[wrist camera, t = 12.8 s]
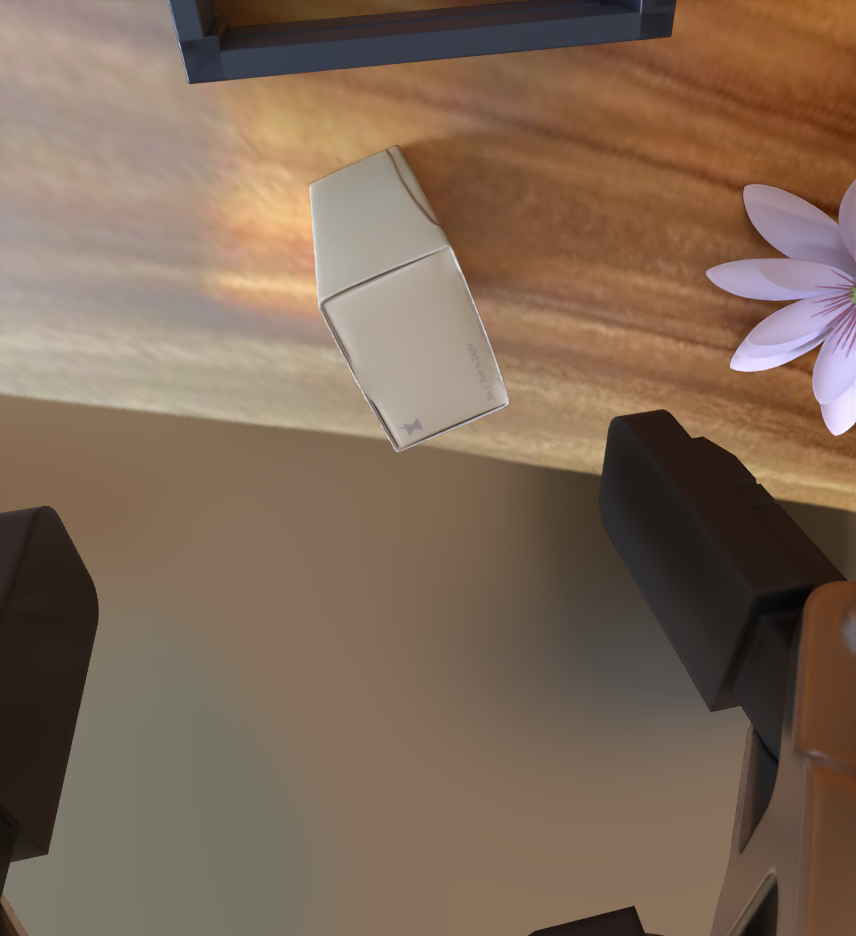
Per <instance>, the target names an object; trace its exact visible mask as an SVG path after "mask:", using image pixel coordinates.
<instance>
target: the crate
mask: <svg viewBox="0 0 856 936" xmlns="http://www.w3.org/2000/svg"><path fill="white" fill-rule="evenodd" d="M168 2H169V6H170V10H171V14H172V18H173V22H174V26H175V30H176V35H177V39H178V43H179V47H180V51H181V55H182V59H183V63H184V67H185V72H186V76H187V80H188V83H189V84H196V83H206V82H217V81H226V80H236V79H246V78H256V77H266V76H277V75H287V74H297V73H307V72H317V71H328V70H338V69H348V68H358V67H368V66H379V65H389V64H399V63H409V62H420V61H430V60H440V59H450V58H460V57H471V56H481V55H491V54H501V53H511V52H522V51H532V50H542V49H552V48H562V47H573V46H583V45H593V44H603V43H614V42H624V41H634V40H646V39H656V38H666V37H671V35H672V28H673V21H674V13H675V6H676V0H532V1H521V2H510V3H499V4H488V5H477V6H466V7H454V8H443V9H432V10H421V11H410V12H399V13H388V14H377V15H366V16H355V17H344V18H332V19H321V20H310V21H299V22H288V23H277V24H266V25H255V26H244V27H233V28H230V24H229V19H228V16H227V15H218V16H216V12H215V7H214V2H213V0H168Z"/></svg>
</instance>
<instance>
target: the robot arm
mask: <svg viewBox="0 0 856 936" xmlns="http://www.w3.org/2000/svg"><path fill="white" fill-rule="evenodd" d="M599 506H600V513H601V517H602V521H603V525H604V527H605V530H606V532H607V534H608V536H609V538H610V539H611V541H612V543H613V544H614V546H615V548H616V550H617V551H618V553H619V555H620V556H621V558H622V560H623V562H624V563H625V565H626V567H627V568H628V570H629V572H630V574H631V575H632V577H633V579H634V581H635V582H636V584H637V586H638V588H639V589H640V591H641V593H642V594H643V596H644V598H645V599H646V601H647V603H648V605H649V607H650V608H651V610H652V612H653V613H654V615H655V617H656V619H657V620H658V622H659V624H660V625H661V627H662V629H663V631H664V632H665V634H666V636H667V638H668V639H669V641H670V643H671V645H672V646H673V648H674V650H675V651H676V653H677V655H678V656H679V658H680V660H681V662H682V664H683V665H684V667H685V669H686V670H687V672H688V674H689V676H690V677H691V679H692V681H693V683H694V684H695V686H696V687H697V689H698V691H699V692H700V694H701V696H702V698H703V700H704V701H705V703H706V705H707V707H708V708H709V710H710V712H713V711H719V710H723V709H727V708H732V707H737V706H741V707H742V708H743V710H744V711H745V713H746V715H747V716H748V718H749V720H750V721H751V724H750V726H749V728H748V731H747V736H746V741H745V748H744V755H743V762H742V770H741V777H740V783H739V791H738V798H737V805H736V813H735V819H734V826H733V833H732V840H731V847H730V855H729V860H728V865H727V870H726V875H725V878H724V882H723V885H722V889H721V892H720V895H719V898H718V902H717V906H716V910H715V914H714V918H713V923H712V928H711V933H710V936H856V581H848V580H847V579H846V578H845V577H844V576H843V575H842V574H841V573H840V572H839V570H838V569H837V568H836V567H835V566H834V565H833V564H832V563H831V562H830V560H828V558H827V557H826V556H825V555H824V554H823V553H822V552H821V550H820V549H819V548H818V547H817V546H816V545H815V544H814V543H813V542H812V540H810V538H809V537H808V536H807V535H806V534H805V533H804V532H803V531H802V529H801V528H800V527H799V526H798V525H797V524H796V523H795V522H794V521H793V520H792V518H791V517H790V516H789V515H788V514H787V513H786V512H785V511H784V510H783V508H782V507H781V506H780V505H779V504H775V503H774V498H773V497H772V496H771V495H770V494H769V493H768V492H767V491H766V489H765V488H764V487H763V486H762V485H761V484H757V483H756V478H755V477H754V476H753V475H752V474H751V473H750V472H749V471H748V469H747V468H746V467H745V466H744V465H743V464H742V463H741V462H740V461H739V459H738V458H737V457H736V456H735V455H733V454H732V453H730V452H728V451H727V450H725V449H723V448H722V447H720V446H718V445H716V444H715V443H713V442H711V441H710V440H708V439H706V438H705V437H698V438H691V437H690V435H689V434H688V433H687V432H686V431H685V430H684V428H683V427H682V426H681V425H680V424H679V423H678V421H677V420H676V419H675V418H674V417H673V415H672V414H671V413H670V412H668V411H667V410H655V411H649V412H643V413H636V414H630V415H624V416H618V417H615V418H613V419H612V421H611V423H610V426H609V430H608V436H607V443H606V450H605V457H604V464H603V471H602V478H601V485H600V492H599ZM98 617H99V610H98V598H97V593H96V589H95V586H94V583H93V581H92V578H91V577H90V575H89V573H88V571H87V569H86V567H85V565H84V563H83V561H82V559H81V557H80V555H79V554H78V552H77V550H76V548H75V546H74V544H73V542H72V540H71V538H70V536H69V535H68V533H67V531H66V529H65V527H64V525H63V523H62V521H61V519H60V517H59V516H58V514H57V513H56V511H55V510H54V509H53V508H51V507H49V506H42V507H36V508H29V509H23V510H17V511H10V512H4V513H0V936H28V934H27V932H26V930H25V929H24V927H23V925H22V924H21V922H20V920H19V918H18V917H17V915H16V913H15V912H14V910H13V908H12V907H11V905H10V903H9V902H8V900H7V899H6V898H5V897H4V895H3V894H2V892H3V888H4V884H5V880H6V876H7V872H8V868H9V865H10V862H15V861H19V860H23V859H28V858H33V857H38V856H42V855H47V854H48V851H49V846H50V841H51V837H52V833H53V828H54V823H55V819H56V814H57V809H58V804H59V800H60V796H61V791H62V786H63V782H64V777H65V773H66V768H67V763H68V759H69V754H70V750H71V745H72V740H73V736H74V731H75V727H76V722H77V717H78V712H79V708H80V703H81V699H82V694H83V690H84V685H85V681H86V676H87V671H88V667H89V662H90V657H91V653H92V648H93V644H94V639H95V634H96V630H97V625H98ZM528 936H662V935H658V934H650V933H645V932H644V930H643V927H642V925H641V922H640V919H639V917H638V914H637V912H636V909H635V906H632V907H628V908H624V909H620V910H616V911H612V912H609V913H604V914H600V915H596V916H593V917H589V918H585V919H581V920H577V921H573V922H569V923H565V924H561V925H557V926H553V927H549V928H545V929H542V930H537V931H534V932H533V933H531V934H530V935H528Z"/></svg>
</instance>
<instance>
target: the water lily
mask: <svg viewBox="0 0 856 936" xmlns="http://www.w3.org/2000/svg"><path fill="white" fill-rule="evenodd" d="M743 198H744V204H745V208H746V211H747V213H748V216H749V218H750V220H751V222H752V223H753V225H754V226H755V228H756V229H757V231H758V232H759V233H760V234H761V235H762V236H763V237H764V239H765V240H767V241H768V242H769V243H770V244H771V245H772V246H774V247H775V248H776V249H777V250H779V251H780V252H781V253H783V254H784V255H786V256H787V257H789V258H782V259H748V260H740V261H733V262H729V263H725V264H721V265H718V266H715V267H713V268H710V269H709V270H708V271H707V272H706V274H707V277H708V278H709V279H710V280H711V281H712V282H713V283H714V284H716V285H717V286H718V287H720V288H722V289H723V290H725V291H728V292H730V293H732V294H735V295H738V296H742V297H746V298H752V299H760V300H794V299H803V300H800V301H798V302H796V303H793V304H791V305H789V306H787V307H785V308H783V309H780V310H779V311H777V312H775V313H773V314H772V315H770V316H768V317H767V318H766V319H764V320H763V321H761V322H760V323H759V324H758V325H757V326H756V327H755V328H754V329H753V330H752V331H751V332H750V334H749V335H748V337H746V338H745V340H744V341H743V342H742V343H741V345H740V346H739V348H738V349H737V351H736V352H735V354H734V355H733V357H732V360H731V363H730V367H731V368H732V369H734V370H737V371H746V372H750V371H761V370H766V369H770V368H774V367H777V366H779V365H782V364H784V363H787V362H789V361H791V360H793V359H795V358H797V357H799V356H801V355H803V354H805V353H806V352H808V351H810V350H811V349H813V348H814V347H816V346H817V345H819V344H820V343H822V342H823V341H824V340H825V339H826V341H825V342H824V344H823V346H822V348H821V350H820V352H819V355H818V357H817V360H816V362H815V366H814V370H813V379H812V383H813V390H814V394H815V396H816V399H817V400H818V402H819V403H820V404H821V411H822V415H823V418H824V421H825V423H826V425H827V427H828V429H829V430H830V432H831V433H832V434H834V435H835V436H837V435H840V434H842V433H844V432H845V431H847V430H848V429H849V428H850V427H851V426H852V425H853V424H854V423H855V422H856V179H855V180H854V182H853V183H852V184H851V185H850V187H849V188H848V189H847V191H846V193H845V195H844V197H843V200H842V202H841V205H840V210H839V225H838V224H837V223H836V222H835V221H834V220H833V219H831V218H830V217H829V216H828V215H826V214H825V213H824V212H822V211H821V210H819V209H818V208H817V207H815V206H813V205H812V204H810V203H808V202H807V201H805V200H803V199H801V198H799V197H797V196H796V195H793V194H791V193H789V192H787V191H784V190H781V189H778V188H775V187H771V186H766V185H756V184H752V185H748V186H745V188H744V191H743ZM848 291H850V292H848ZM804 298H806V299H804Z"/></svg>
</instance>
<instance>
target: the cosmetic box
mask: <svg viewBox="0 0 856 936" xmlns="http://www.w3.org/2000/svg"><path fill="white" fill-rule="evenodd" d="M310 200H311V213H312V228H313V242H314V254H315V268H316V284H317V296H318V307H319V310H320V312H321V314H322V316H323V318H324V320H325V322H326V324H327V326H328V328H329V330H330V332H331V334H332V336H333V338H334V340H335V342H336V343H337V345H338V347H339V349H340V351H341V353H342V355H343V357H344V359H345V361H346V363H347V365H348V367H349V369H350V371H351V373H352V375H353V377H354V378H355V380H356V382H357V384H358V386H359V387H360V389H361V391H362V393H363V394H364V396H365V398H366V400H367V402H368V403H369V405H370V407H371V409H372V411H373V412H374V414H375V416H376V418H377V419H378V421H379V423H380V425H381V426H382V428H383V430H384V432H385V433H386V435H387V437H388V438H389V440H390V442H391V444H392V445H393V447H394V449H395V450H396V451H397V452H401V451H403V450H405V449H407V448H410V447H412V446H415V445H418V444H420V443H422V442H425V441H427V440H429V439H432V438H435V437H437V436H440V435H442V434H444V433H447V432H449V431H451V430H454V429H456V428H458V427H461V426H463V425H466V424H469V423H471V422H473V421H475V420H477V419H480V418H482V417H484V416H487V415H489V414H491V413H493V412H496V411H498V410H500V409H502V408H505V407H506V406H508V404H509V398H508V395H507V391H506V388H505V384H504V381H503V378H502V375H501V372H500V369H499V366H498V363H497V360H496V358H495V355H494V352H493V349H492V346H491V344H490V341H489V338H488V335H487V333H486V330H485V328H484V325H483V322H482V319H481V317H480V314H479V312H478V309H477V306H476V304H475V301H474V299H473V296H472V294H471V291H470V289H469V286H468V284H467V281H466V279H465V276H464V274H463V271H462V269H461V267H460V264H459V262H458V259H457V257H456V255H455V252H454V250H453V248H452V246H451V244H450V242H449V240H448V238H447V236H446V234H445V232H444V230H443V229H442V227H441V225H440V223H439V221H438V219H437V217H436V215H435V213H434V211H433V209H432V207H431V205H430V203H429V201H428V199H427V197H426V195H425V194H424V192H423V190H422V188H421V186H420V184H419V182H418V180H417V178H416V176H415V174H414V172H413V170H412V168H411V167H410V164H409V163H408V161H407V159H406V157H405V155H404V153H403V152H402V150H401V148H400V146H398V145H395V146H393V147H391V148H389V149H386V150H384V151H381V152H379V153H377V154H374V155H372V156H370V157H367V158H365V159H363V160H361V161H359V162H356V163H354V164H352V165H350V166H348V167H345V168H343V169H341V170H339V171H337V172H334V173H332V174H330V175H328V176H326V177H324V178H322V179H319V180H317V181H315V182H313V183H312V184H311V185H310Z"/></svg>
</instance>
